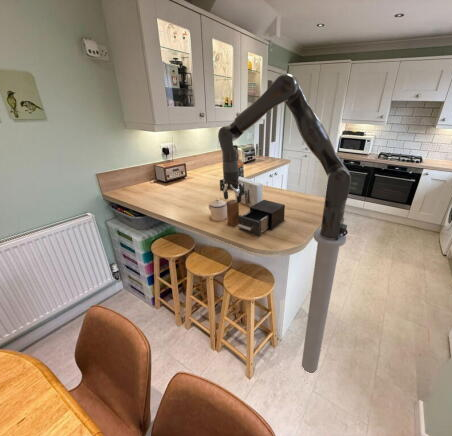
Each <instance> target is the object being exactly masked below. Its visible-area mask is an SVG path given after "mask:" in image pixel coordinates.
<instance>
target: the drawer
mask: <svg viewBox="0 0 452 436" xmlns="http://www.w3.org/2000/svg"><path fill="white" fill-rule="evenodd" d="M270 216H271V215H270V214H267V213H263V212H259V211H256V210H251V211H250V210H249V211H248V212H246V213H244V214H242V215H240V214H239V223H238V224H237V227H238V230H239V231H240V232H244V233H247V234H249V235H252V236H255V237H259V238H260V237H261V235H262V234H263V233H265V232H266V230H269V229H268V228H270Z"/></svg>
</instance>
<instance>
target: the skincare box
mask: <svg viewBox="0 0 452 436" xmlns="http://www.w3.org/2000/svg"><path fill="white" fill-rule="evenodd" d="M238 182H239V183H244V191H245V194H244V195H242V196H241V202H240V203H241V204H244V205H246V206H248V207H249V208H250V207H252V206H253V205H255V204H257V203H259V202H260V201H262V200H263V198H264V197H263V183H262V182H259V181H256V180H252V179H249V178H246V177H244V178H243V177H240V176H239V179H238ZM238 187H239V186H238ZM236 190H237V189H236ZM234 194H235V195H234V196H235V200H237V194H236V193H235V192H234Z"/></svg>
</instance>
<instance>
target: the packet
mask: <svg viewBox="0 0 452 436" xmlns="http://www.w3.org/2000/svg"><path fill="white" fill-rule="evenodd" d="M225 202H226V214H227V218H226V220H227V225H228V226H230V227H235V226H238V224H239V216H240V203H237V200H236V199H234V198H233V199H230V200H228V201H225Z"/></svg>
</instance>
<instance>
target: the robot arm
mask: <svg viewBox="0 0 452 436" xmlns="http://www.w3.org/2000/svg"><path fill="white" fill-rule="evenodd" d="M283 103H284V104H285V105H286V107H287V108H288V109H289V111H290V113H291V114H292V116H293V119H294V122H295V124H296V127H297V130H298V133H299V135H300V137H301V139H302V141H303V142H304V143H305V146H306V147H307V149H308V150H309V151H310V152H311V153H312V155H314V156H315V158H316V159H317V160H318V161H319V162H320V164H321V167H322V168H323V170H324V172H325V174H326V177H327V181H326V182H327V184H326V190H325V197H324V202H323V203H324V204H323V210H322V217H321V225H320V228H321V232H320V235H321V237H323V238H325V239H327V240H336V241H338V239H339V238H340V236H341V234H343V236H345V235H346V236H347V235H348V233H349V232H348V230H347V228H348V224H345V218H344V216H345V210H346V204H347V200H348V198H349V193H350V188H351V183H352V176H351V173H350V171H349V169H348V168H347V167H346V165H345V164H344V163H343V161H342V160H341V159H340V157H339V156H338V154H337V153H336V150H335V148H334V145H333V143H332V141H331V139H330V136H329V134H328V133H327V130H326V129H325V127H324V126H323V124H322V122H321V121H320V119H319V117H318V116H317V115H316V113H315V111H314V110H313V109H312V107H311V106H310V104H309V103H308V101H307V99H306V96H305V95H304V92H303V90H302V87H301V85H300V83H299V80H298V78H296V77H295V76H294V75H292V74H289V73H281V74H280V75H279V76H277V78H276V79H274V81H273V82H272V84H270V85H269V87H268V88H267V89H266V90H265V91H264V92H263V94H261V95H260V96H259V98H257V99H256V100H255V101H254V102H253V103H251V104H250V105H249V106H247V107H246V108H245V109H244V110H242V112H240V113H239V114H238V115H237V116H236V117H235V118H234V119H233V121H232V122H231V123H230V124H229V125H224V126H221V127H220V128H219V130H218V134H217V139H218V143H219V145H220V149H221V155H222V175H223V178H221V179H219V191H220V192H222V193H223V200H224V201H225V200H228V199H229V192H228V191H233V192H234V194H235V193H236V194H237V203H239V204H240V203H241V196H242V195H244V194H245V191H244V183H239V182H238V179H239V170H238V160H237V150H236V148H234V146H233V145H234V141H236V140H238V139H239V138H240V137H242V136H243V134H244V133H245V132H246V131H248V130H249V129H251V127H253V126H254V125H256V124H257V123H258V122H259V121H260V120H261V119H262V118H263V117H264V116H265V115H266V114H267V113H268V112H270V111H271V110H273V109H275V107H277V106H279V105H281V104H283ZM238 186H239V187H238ZM236 189H237V190H236Z"/></svg>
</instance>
